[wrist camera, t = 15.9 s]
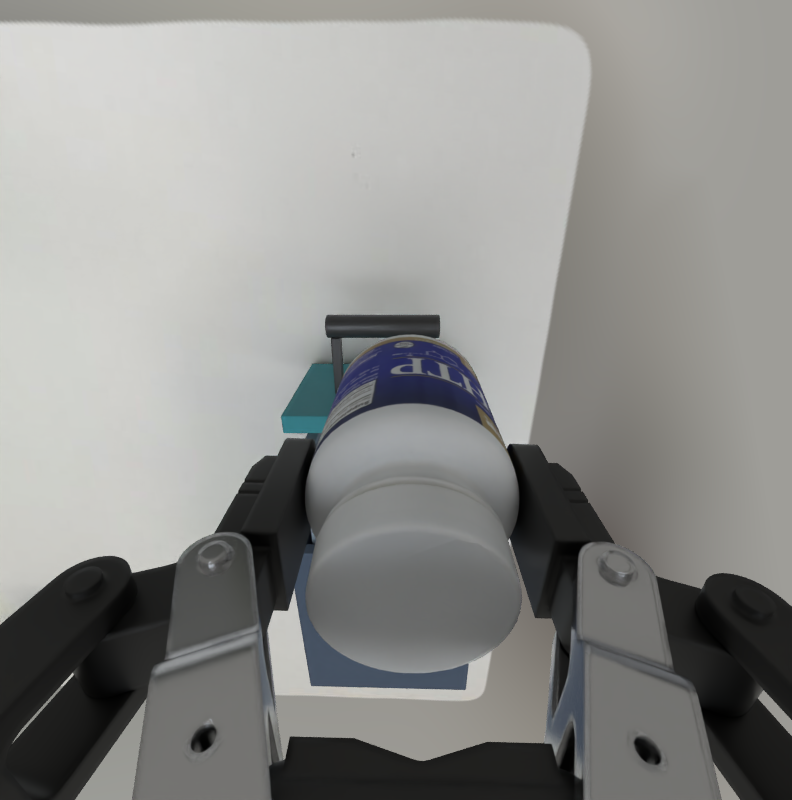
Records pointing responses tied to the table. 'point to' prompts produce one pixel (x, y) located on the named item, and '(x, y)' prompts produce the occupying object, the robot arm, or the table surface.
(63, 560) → the table surface
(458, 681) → the cabinet
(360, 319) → the drawer
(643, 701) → the robot arm
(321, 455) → the pill bottle
